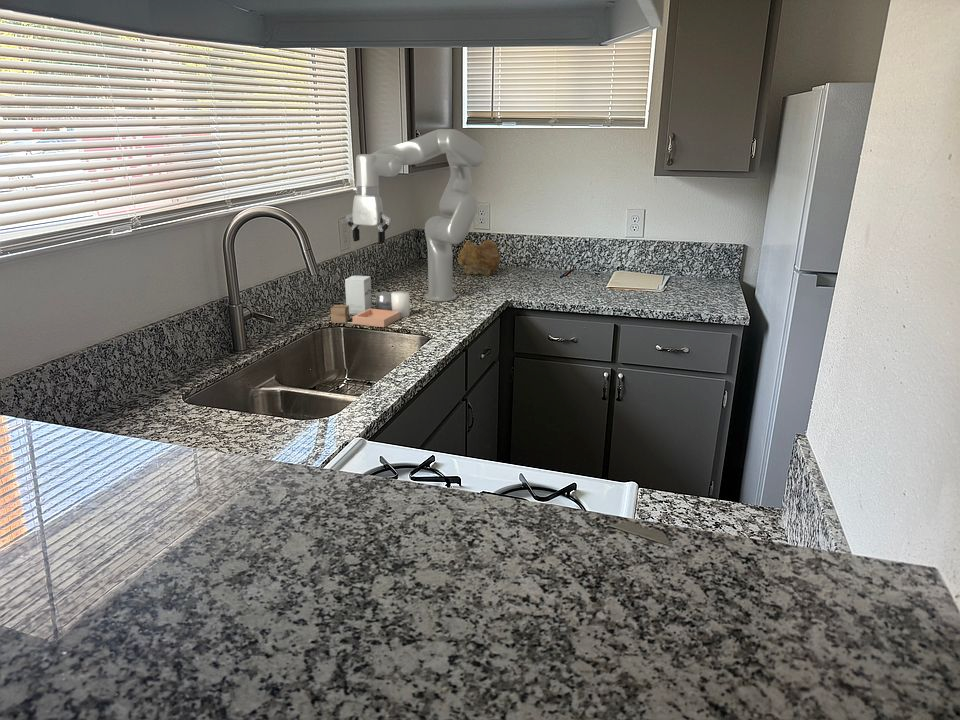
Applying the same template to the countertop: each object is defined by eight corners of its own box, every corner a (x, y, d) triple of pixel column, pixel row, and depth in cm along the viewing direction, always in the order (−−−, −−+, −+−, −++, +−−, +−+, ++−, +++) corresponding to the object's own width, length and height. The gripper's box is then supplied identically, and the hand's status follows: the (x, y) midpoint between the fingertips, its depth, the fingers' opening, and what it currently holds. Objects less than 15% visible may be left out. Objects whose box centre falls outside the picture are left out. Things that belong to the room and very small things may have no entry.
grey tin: (381, 307, 259) (380, 291, 257) (395, 308, 257) (395, 292, 255) (373, 310, 254) (372, 294, 252) (387, 312, 252) (387, 296, 250)
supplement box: (365, 314, 248) (363, 280, 244) (346, 313, 250) (344, 279, 245) (372, 309, 255) (371, 275, 251) (353, 308, 256) (351, 274, 252)
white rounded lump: (397, 312, 252) (396, 290, 250) (412, 313, 250) (412, 291, 248) (388, 316, 247) (387, 294, 244) (405, 318, 244) (404, 295, 242)
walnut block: (335, 318, 243) (334, 304, 242) (349, 319, 243) (348, 305, 241) (331, 322, 239) (330, 308, 237) (345, 323, 238) (344, 308, 237)
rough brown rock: (480, 282, 305) (483, 248, 300) (452, 273, 314) (454, 240, 309) (512, 275, 322) (515, 243, 317) (484, 267, 332) (487, 236, 327)
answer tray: (370, 315, 248) (369, 308, 247) (400, 318, 244) (400, 311, 243) (352, 323, 237) (352, 316, 236) (384, 327, 233) (383, 320, 232)
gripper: (339, 191, 237) (341, 241, 242) (385, 193, 232) (386, 245, 237) (350, 189, 244) (352, 238, 249) (395, 192, 239) (396, 242, 244)
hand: (368, 241), depth 243 cm, fingers open, 9 cm apart
